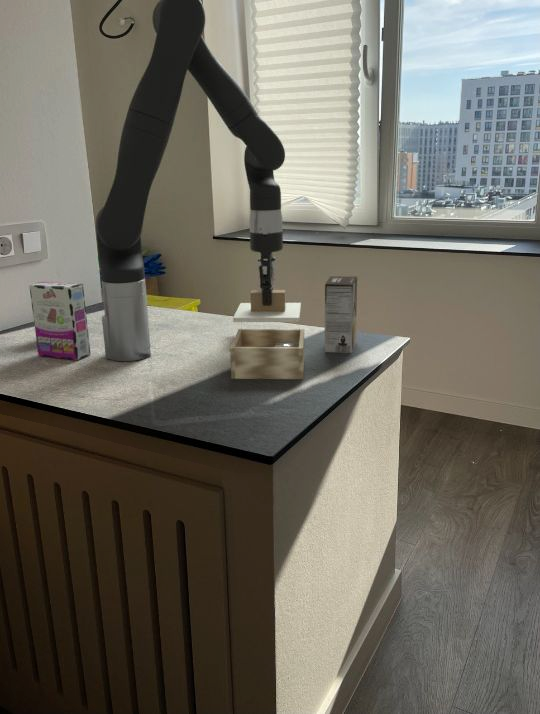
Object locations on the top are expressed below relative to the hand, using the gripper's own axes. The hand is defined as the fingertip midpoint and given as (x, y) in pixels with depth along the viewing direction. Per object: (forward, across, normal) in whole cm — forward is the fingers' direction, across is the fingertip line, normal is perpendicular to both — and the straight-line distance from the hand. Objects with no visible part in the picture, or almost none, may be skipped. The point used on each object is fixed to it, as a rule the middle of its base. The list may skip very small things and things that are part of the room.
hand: (267, 303), depth 152 cm
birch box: (+9, +24, +2) cm, 26 cm away
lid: (+3, 0, 0) cm, 3 cm away
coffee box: (+9, +9, +17) cm, 21 cm away
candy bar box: (+9, +14, -45) cm, 48 cm away
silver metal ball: (+8, +21, +5) cm, 23 cm away
